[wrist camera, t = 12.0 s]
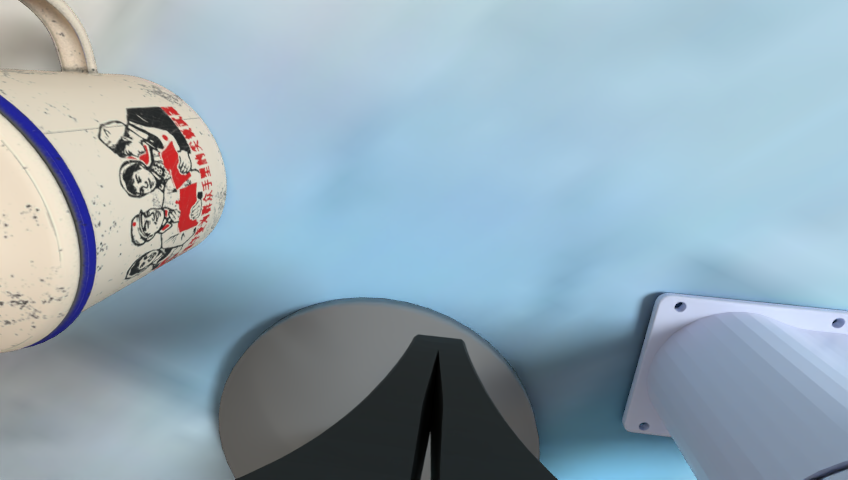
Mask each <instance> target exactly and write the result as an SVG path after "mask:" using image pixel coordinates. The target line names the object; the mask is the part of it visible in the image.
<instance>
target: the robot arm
mask: <svg viewBox="0 0 848 480" xmlns="http://www.w3.org/2000/svg"><path fill="white" fill-rule="evenodd" d="M678 302H682V305H681V306H680V307H678V308H675V305H676V304H677V303H678ZM837 318H838V319H837ZM835 319H837V321H836V322H835V323H833V324H832V322H833V321H834V320H835ZM644 422H646V423H645V424H643V425H640V424H641V423H644ZM622 423H623V425H624V427H625V429H626V430H627V431H629V432H634V433H642V434H650V435H659V436H667V437H672V438H673V440H674V441H675V443H676V445H677V446H678V448H679V450H680V451H681V453H682V455H683V456H684V458H685V460H686V461H687V463H688V465H689V466H690V468H691V470H692V471H693V473H694V475H695V476H696V478H697V480H848V311H843V310H833V309H823V308H813V307H803V306H793V305H783V304H773V303H764V302H754V301H744V300H734V299H724V298H714V297H704V296H694V295H684V294H674V293H664V294H662V295H660V296H659V297H658V298H657V299H656V301H655V304H654V308H653V311H652V315H651V319H650V322H649V326H648V329H647V333H646V336H645V340H644V344H643V347H642V351H641V354H640V358H639V361H638V365H637V368H636V372H635V376H634V379H633V383H632V386H631V390H630V393H629V397H628V401H627V404H626V408H625V411H624V415H623V418H622ZM429 436H430V456H431V480H558V479H557V478H555V477H554V476H553V475H552V474H551V473H550V472H549V471H548V470H547V469H546V468H545V467H544V465H543V464H542V463H541V462H540V461H539V460H538V459H537V458H536V457H535V456H534V455H533V454H532V453H531V452H530V451H529V450H528V448H527V447H526V446H525V445H524V444H523V443H522V441H521V440H520V439H519V438H518V436H517V435H516V434H515V433H514V431H513V430H512V429H511V427H510V426H509V425H508V423H507V422H506V421H505V419H504V418H503V416H502V415H501V413H500V412H499V410H498V409H497V407H496V406H495V404H494V403H493V401H492V399H491V398H490V396H489V394H488V393H487V391H486V389H485V387H484V385H483V384H482V382H481V380H480V378H479V376H478V374H477V372H476V370H475V368H474V366H473V363H472V361H471V359H470V356H469V354H468V351H467V348H466V344H465V342H464V341H463V340H462V339H456V338H447V337H438V336H429V335H420V334H418V335H416V336H415V337H414V338H413V340H412V342H411V343H410V345H409V347H408V348H407V350H406V351H405V353H404V354H403V355H402V357H401V358H400V360H399V361H398V362H397V363H396V365H395V366H394V367H393V368H392V370H391V371H390V372H389V373H388V374H387V376H386V377H385V378H384V379H383V380H382V381H381V382H380V383H379V384H378V385H377V386H376V388H375V389H374V390H373V391H372V392H371V393H370V394H369V395H368V396H367V397H366V398H365V399H364V400H363V401H362V402H360V403H359V404H358V405H357V406H356V407H355V408H354V409H352V410H351V411H350V412H349V413H348V414H347V415H345V416H344V417H343V418H342V419H340V420H339V421H338V422H336V423H335V424H334V425H332V426H331V427H330V428H328V429H327V430H326V431H324V432H323V433H321V434H320V435H319V436H317V437H316V438H314V439H312V440H311V441H309V442H307V443H306V444H304V445H303V446H301V447H299V448H298V449H296V450H294V451H292V452H291V453H289V454H287V455H285V456H283V457H282V458H280V459H278V460H276V461H274V462H272V463H269V464H267V465H265V466H263V467H261V468H259V469H257V470H255V471H253V472H251V473H248V474H246V475H244V476H242V477H239V478H237V479H235V480H421V476H422V471H423V466H424V461H425V456H426V451H427V446H428V441H429Z"/></svg>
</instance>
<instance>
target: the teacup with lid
mask: <svg viewBox="0 0 848 480" xmlns="http://www.w3.org/2000/svg"><path fill="white" fill-rule="evenodd" d="M19 1H20V2H22V3H23V4H24V5H25V6H27V7H28V8H29V9H30V10H31V11H32V12H33V13H34V14H35V15H36V16H37V17H38V18H39V19H40V20H41V22H42V23H43V24H44V26H45V27H46V29H47V30H48V32H49V34H50V36H51V38H52V40H53V42H54V45H55V48H56V51H57V54H58V58H59V62H60V66H61V72H58V71H37V70H16V69H0V353H4V352H10V351H14V350H18V349H22V348H27V347H31V346H34V345H37V344H40V343H43V342H45V341H47V340H49V339H51V338H53V337H55V336H56V335H58V334H59V333H61V332H62V331H64V330H65V329H66V328H67V327H68V326H69V325H71V324H72V323H73V321H74V320H75V319H76V318H77V317H78V316H79V314H80V313H81V312H83V311H85V310H86V309H88V308H90V307H91V306H93V305H95V304H97V303H98V302H100V301H102V300H104V299H105V298H107V297H109V296H110V295H112V294H114V293H116V292H117V291H119V290H121V289H123V288H124V287H126V286H128V285H129V284H131V283H133V282H135V281H136V280H138V279H140V278H142V277H143V276H145V275H147V274H149V273H150V272H152V271H154V270H155V269H157V268H159V267H161V266H162V265H164V264H166V263H168V262H169V261H171V260H173V259H174V258H176V257H178V256H180V255H181V254H183V253H185V252H187V251H188V250H190V249H192V248H193V247H195V246H196V245H198V244H199V243H201V242H202V241H203V240H204V239H205V238H206V237H207V236H208V235H209V234H210V233H211V232H212V230H213V229H214V228H215V226H216V224H217V223H218V221H219V219H220V216H221V214H222V211H223V208H224V204H225V199H226V189H227V185H226V173H225V167H224V163H223V159H222V156H221V153H220V150H219V148H218V145H217V143H216V141H215V139H214V137H213V135H212V134H211V132H210V130H209V129H208V127H207V126H206V124H205V123H204V122H203V120H202V119H201V118H200V117H199V115H198V114H197V113H196V112H195V111H194V110H193V109H192V108H191V107H190V106H189V105H188V104H187V103H186V102H184V101H183V100H182V99H181V98H180V97H178V96H177V95H175V94H174V93H172V92H171V91H169V90H168V89H166V88H164V87H162V86H160V85H158V84H156V83H154V82H152V81H149V80H146V79H143V78H139V77H135V76H129V75H120V74H99V73H98V71H97V66H96V62H95V58H94V54H93V50H92V47H91V44H90V41H89V38H88V36H87V34H86V31H85V29H84V27H83V26H82V24H81V22H80V20H79V19H78V17H77V16H76V15H75V13H74V12H73V11H72V9H71V8H70V7H69V6H68V5H67V4H66V3H65V1H64V0H19Z"/></svg>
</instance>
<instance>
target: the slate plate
mask: <svg viewBox="0 0 848 480" xmlns="http://www.w3.org/2000/svg"><path fill="white" fill-rule="evenodd" d="M418 334H420V335H429V336H438V337H447V338H456V339H462V340H463V341H464V342H465V344H466V348H467V351H468V354H469V356H470V359H471V361H472V363H473V366H474V368H475V370H476V372H477V374H478V376H479V378H480V380H481V382H482V384H483V385H484V387H485V389H486V391H487V393H488V394H489V396H490V398H491V399H492V401H493V403H494V404H495V406H496V407H497V409H498V410H499V412H500V413H501V415H502V416H503V418H504V419H505V421H506V422H507V423H508V425H509V426H510V427H511V429H512V430H513V431H514V433H515V434H516V435H517V436H518V438H519V439H520V440H521V441H522V443H523V444H524V445H525V446H526V447H527V448H528V450H529V451H530V452H531V453H532V454H533V455H534V456H535V457H536V458H537V459H538V460H539V457H540V451H539V436H538V431H537V427H536V422H535V417H534V413H533V408H532V405H531V402H530V400H529V397H528V395H527V392H526V390H525V388H524V386H523V384H522V383H521V381H520V379H519V377H518V376H517V374H516V372H515V371H514V370H513V369H512V367H511V366H510V365H509V363H508V362H507V361H506V360H505V358H504V357H503V356H502V355H501V354H500V353H499V352H498V351H497V350H496V349H495V348H494V347H493V346H492V345H491V344H490V343H488V342H487V341H486V340H485V339H483V338H482V337H481V336H479V335H478V334H477V333H475V332H474V331H473V330H471V329H470V328H468V327H466V326H464V325H463V324H461V323H459V322H457V321H456V320H454V319H452V318H450V317H448V316H446V315H443V314H441V313H438V312H436V311H434V310H431V309H429V308H425V307H422V306H418V305H415V304H411V303H408V302H402V301H396V300H390V299H383V298H349V299H338V300H333V301H328V302H323V303H318V304H316V305H313V306H310V307H307V308H304V309H301V310H298V311H296V312H294V313H292V314H290V315H288V316H287V317H285V318H283V319H281V320H279V321H278V322H277V323H275V324H274V325H272V326H271V327H270V328H268V329H267V330H265V331H264V332H263V333H262V334H261V335H260V336H259V337H258V338H257V339H256V340H255V341H254V342H253V343H252V344H251V346H250V347H249V348H248V349H247V350H246V352H245V353H244V354H243V355H242V357H241V358H240V359H239V361H238V362H237V363H236V365H235V366H234V368H233V369H232V371H231V373H230V375H229V377H228V379H227V381H226V384H225V387H224V390H223V393H222V397H221V401H220V409H219V433H220V438H221V443H222V448H223V451H224V454H225V457H226V460H227V463H228V465H229V467H230V469H231V471H232V473H233V475H234V477H235V479H237V478H239V477H242V476H244V475H246V474H248V473H251V472H253V471H255V470H257V469H259V468H261V467H263V466H265V465H267V464H269V463H272V462H274V461H276V460H278V459H280V458H282V457H283V456H285V455H287V454H289V453H291V452H292V451H294V450H296V449H298V448H299V447H301V446H303V445H304V444H306V443H307V442H309V441H311V440H312V439H314V438H316V437H317V436H319V435H320V434H321V433H323V432H324V431H326V430H327V429H328V428H330V427H331V426H332V425H334V424H335V423H336V422H338V421H339V420H340V419H342V418H343V417H344V416H345V415H347V414H348V413H349V412H350V411H351V410H352V409H354V408H355V407H356V406H357V405H358V404H359V403H360V402H362V401H363V400H364V399H365V398H366V397H367V396H368V395H369V394H370V393H371V392H372V391H373V390H374V389H375V388H376V386H377V385H378V384H379V383H380V382H381V381H382V380H383V379H384V378H385V377H386V376H387V374H388V373H389V372H390V371H391V370H392V368H393V367H394V366H395V365H396V363H397V362H398V361H399V360H400V358H401V357H402V355H403V354H404V353H405V351H406V350H407V348H408V347H409V345H410V343H411V342H412V340H413V338H414V337H415V336H416V335H418ZM421 480H431V456H430V436H429V441H428V446H427V451H426V456H425V461H424V466H423V471H422V476H421Z"/></svg>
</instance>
